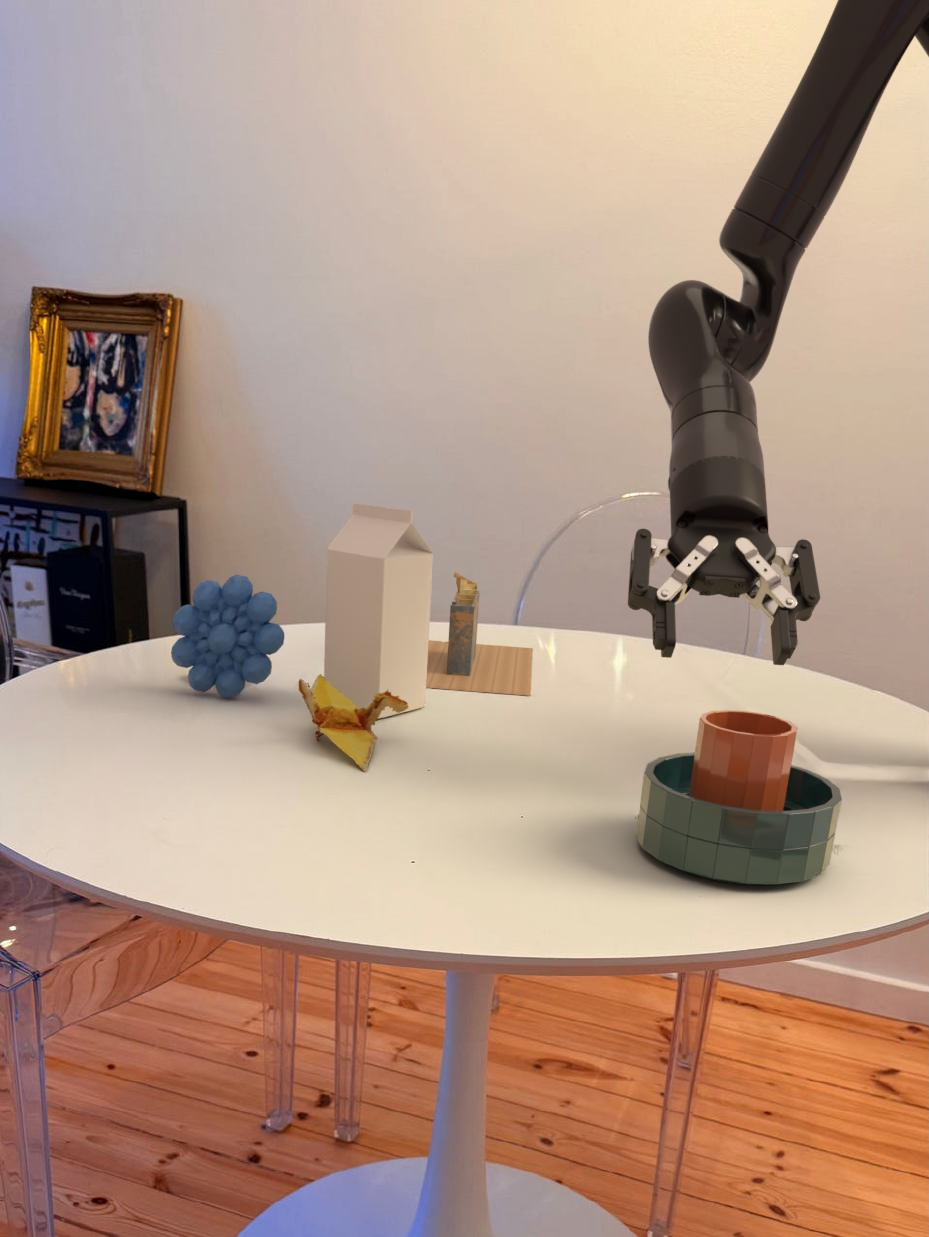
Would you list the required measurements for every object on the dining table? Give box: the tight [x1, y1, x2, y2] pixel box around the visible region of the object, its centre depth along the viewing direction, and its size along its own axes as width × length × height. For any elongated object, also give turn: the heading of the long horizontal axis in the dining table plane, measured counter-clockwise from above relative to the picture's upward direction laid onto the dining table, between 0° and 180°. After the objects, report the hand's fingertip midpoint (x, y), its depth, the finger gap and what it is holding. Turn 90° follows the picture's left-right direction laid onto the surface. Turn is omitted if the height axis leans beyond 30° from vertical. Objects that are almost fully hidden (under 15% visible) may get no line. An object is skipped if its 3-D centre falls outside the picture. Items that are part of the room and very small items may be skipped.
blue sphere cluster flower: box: [170, 574, 285, 699], centre depth 110 cm, size 12×7×12 cm, turn 76°
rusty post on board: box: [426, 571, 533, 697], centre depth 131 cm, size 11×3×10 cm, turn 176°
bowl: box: [635, 751, 843, 886], centre depth 80 cm, size 13×13×6 cm
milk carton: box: [323, 502, 434, 720], centre depth 108 cm, size 7×7×19 cm
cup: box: [689, 709, 798, 811], centre depth 79 cm, size 6×6×9 cm
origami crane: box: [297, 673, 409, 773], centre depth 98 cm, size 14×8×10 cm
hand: (725, 655), depth 85 cm, fingers open, 8 cm apart
